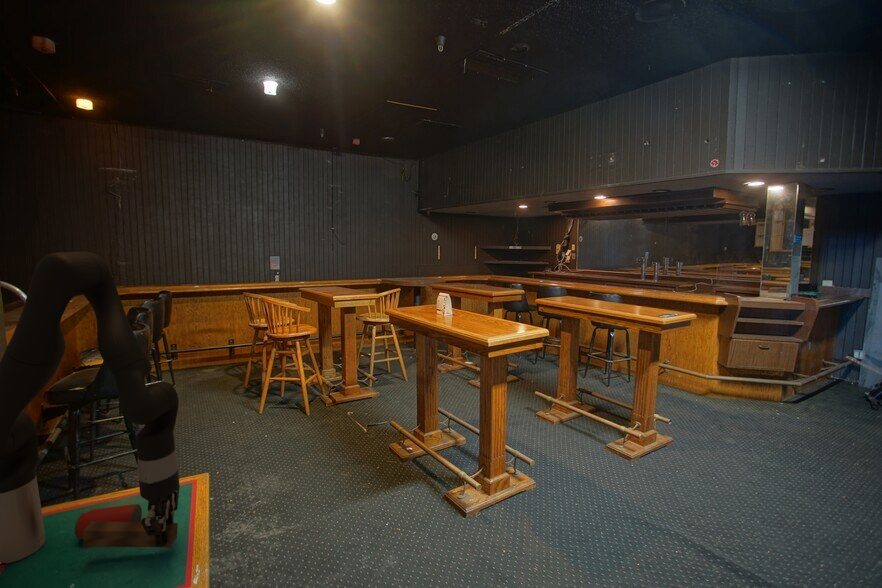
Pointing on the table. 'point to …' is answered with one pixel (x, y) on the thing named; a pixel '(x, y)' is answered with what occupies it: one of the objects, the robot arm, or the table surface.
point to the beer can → (108, 516)
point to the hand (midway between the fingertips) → (165, 538)
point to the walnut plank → (124, 535)
